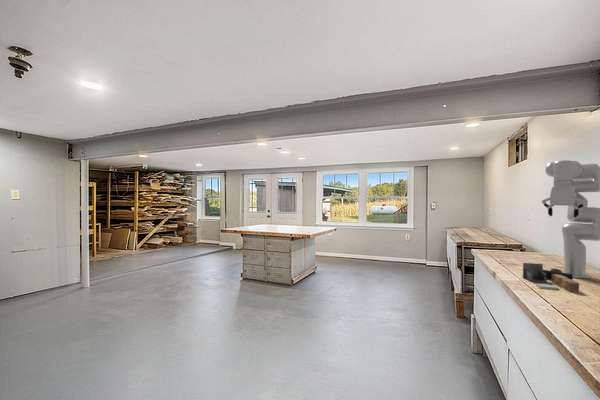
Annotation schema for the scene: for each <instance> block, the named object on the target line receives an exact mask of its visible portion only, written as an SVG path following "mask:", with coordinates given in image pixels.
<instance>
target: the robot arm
mask: <svg viewBox="0 0 600 400" xmlns="http://www.w3.org/2000/svg"><path fill="white" fill-rule="evenodd" d="M545 174H546V175H547V176H549V177H553V186H552V187H551V190H550V196H549V197H546V198H544V199H543V200H541V203H542V204H543V206H544V207H545V208H547V214H548V215H549V217H552V216H553V207H554V206H565V207H566V206H567V213H566V214H567V216H566V218H567V220H568V221H569V223H565V224H562V227H561V232H562V237H563V266H562V269H563V270H561V272H562V273H569V274H572V275H573V279H574V278H575V279H576V278H577V279H590V275H589V274H587V273H586V272H587V247H586V245H585V244H584V242H582V241H591V242H592V241H593V242H594V241H595V242H600V207H595V206H593V207H592V206H591V207H589V206H588V205H589V201H588V199H587V198H586V196H585V197H584V195H583V194H581V193H599V192H600V165H598V164H597V163H587V164H586V163H585V164H584V163H583V164H581V163H580V161H577V160H568V159H567V160H566V159H565V160H557V161H555V162H554V161H553V162H548V163H547V164H546V166H545ZM548 201H549V204H548V203H547V202H548Z"/></svg>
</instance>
